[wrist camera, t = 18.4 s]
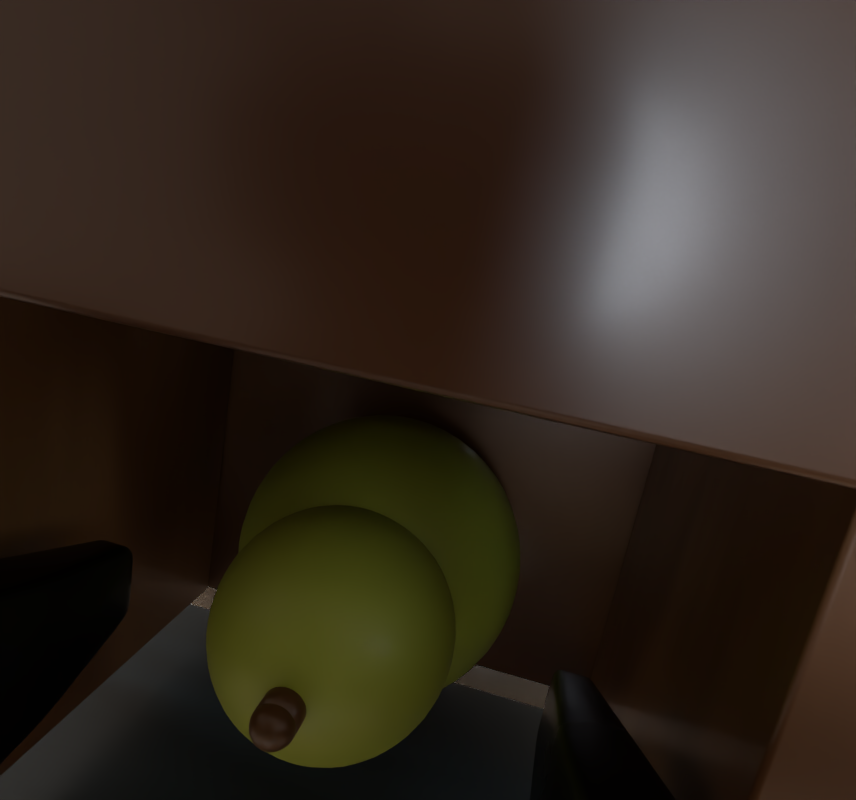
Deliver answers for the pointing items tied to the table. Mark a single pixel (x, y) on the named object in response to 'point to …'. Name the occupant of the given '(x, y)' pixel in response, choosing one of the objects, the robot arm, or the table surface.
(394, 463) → the pear
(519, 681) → the table surface
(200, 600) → the table surface
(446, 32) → the cabinet
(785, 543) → the drawer
